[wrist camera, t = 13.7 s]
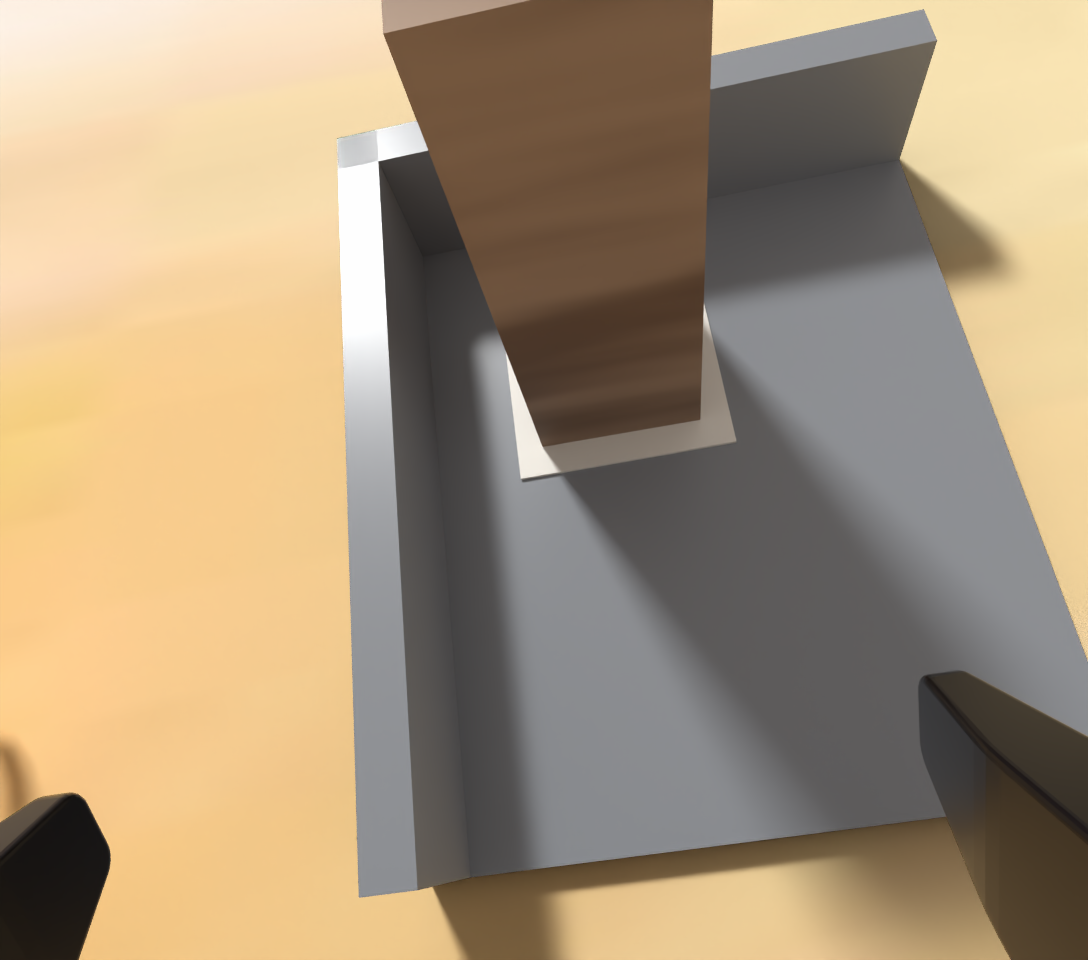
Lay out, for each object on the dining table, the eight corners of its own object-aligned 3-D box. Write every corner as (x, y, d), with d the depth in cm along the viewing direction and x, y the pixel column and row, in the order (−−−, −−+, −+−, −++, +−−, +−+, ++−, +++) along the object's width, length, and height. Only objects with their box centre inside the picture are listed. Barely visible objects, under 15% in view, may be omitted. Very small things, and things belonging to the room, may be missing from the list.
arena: (1123, 793, 20) (1258, 783, 15) (430, 882, 21) (358, 897, 17) (884, 145, 27) (923, 9, 23) (392, 246, 29) (336, 138, 24)
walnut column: (700, 419, 24) (714, -42, 11) (542, 447, 24) (383, 33, 12) (672, 287, 26) (657, -240, 13) (525, 315, 26) (373, -168, 14)
